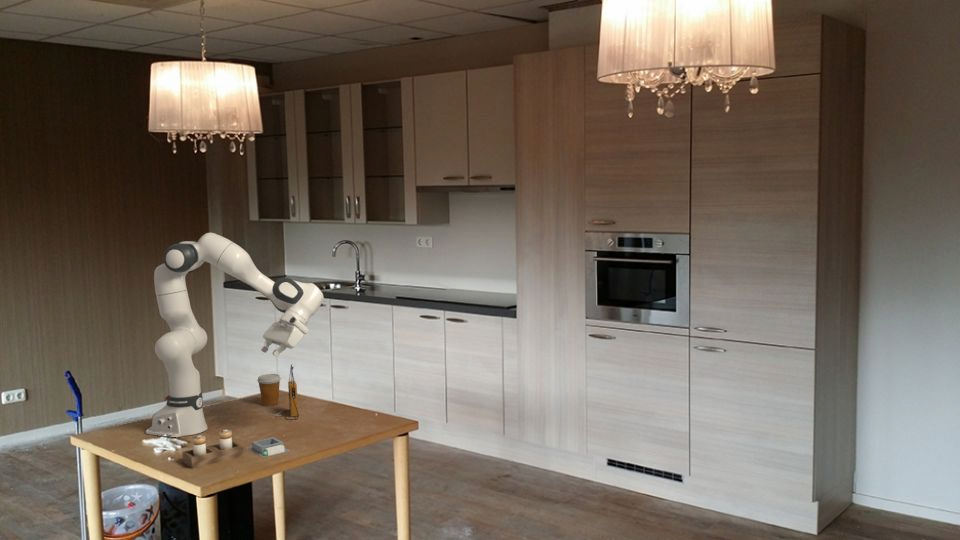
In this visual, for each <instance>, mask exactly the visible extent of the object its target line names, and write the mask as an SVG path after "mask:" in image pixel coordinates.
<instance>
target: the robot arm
mask: <svg viewBox="0 0 960 540" xmlns="http://www.w3.org/2000/svg"><path fill="white" fill-rule="evenodd" d="M206 263H209V264H211V265H212V266H213V267H216V268H217V269H218V270H220V271H222V272H224V273H226V274H228V275H230V276H232V277H234V278H236V279H237V280H239V281H241V282H243V283H245V284H247V285H248V286H249V287H251V288H253V289H254V290H256V291H257V292H258V293H260V294H262V295H263V296H265V297H266V298H267V299H269V300H270V302H271V303H272V304H273V306H274V307H275V309H276V310H277V311H279V312H280V313H282V316H281V317H280V318H279V320H278V321H275V322H273V323H272V324H271V325H270V326H269V327H268V328H267V330H265V332H264V333H263V334H262V338H263V339H264V342H263V346H262V347H261V349H260V351H262V352H263V353H265V354H266V353H267V352H268V351H269V348H270V346H271V345H272V344H273V345H277V346H279V347H277V348H276V349H274V350H273V352H272V355H273V356H274V357H278V356H279V355H280V354H281V353H283V352H284V351H285V350H287V349H291V350H292V349H293V348H295V347H296V346H297V345H298V344H299V343H300V342H301V340H302V339H303V338H304V335H306V334H308V333H309V331H310V329H308V327H307V326H306V325H308V323H309V320H310V318H311V317H313V316H314V315H315V314H316V312H317V311H318V309H320V307H321V305H322V304H323V302H324V299H325V298H324V293H323V291H322V290H321V289H320V287H318V285H316V284H315V283H314V282H301V281H297V280H296V279H295V280H294V279H292V278H290V277H281V278H279V279H277V280H276V281H274V280H272V279H271V278H269V277H268V276H266V275H265V274H263V273H262V272H261V271H260V270H259V269H258V268H257V267H256V265H255V263H254V262H253V260H252V258H251V256H250V254H249V253H248V252H247V251H246V250H245V249H244V248H242V247H241V246H240V245H238V244H237V243H235V242H234V241H232V240H230V239H228V238H226V237H224V236H222V235H219V234H217V233H215V232H207V233H206V232H205V234H203V235H202V236H201V237H199V239H198V240H197V241H195V240H189V241H188V240H186V241H184V240H183V241H180V242H178V243H174V244H172V245H170V246H168V247H167V249H166V250H165V251H164V253H163V263H162V264H159V265H158V266H157V267H155V269H154V273H153V274H154V275H153V281H154V292H155V296H156V302H157V306H158V311H159V315H160V317H161V318H162V319H163V320H164V321H165V322H166V323H167V325H168V327H169V329H170V331H169V332H166V333H165V334H163V335H162V336H161V337H160V338H158V340H157V341H156V342H155V345H154V352H155V354H156V357H157V358H158V359H159V360H160V361H162V362H163V365H164V367H165V370H166V374H167V378H168V388H169V395H167V396H166V397H164V398H163V401H164V402H165V401H166V403H165V404H166V405H164V406H163V407H162V408H161V409H160V410H158V411H157V412H156V413H155V414H154V415H153V417H152V421H151V426H150V427H149V428H147V429H146V430H145V434H146V435H151V436H157V435H158V437H162V436H161V435H163V434H168V435H171V436H174V437H176V438H180V437H184V436H192V435H197V434H200V433H202V432H205V431H207V430H208V429H209V427H208V425H207V422H206V419H205V414H204V409H203V403H204V401H203V392H202V391H201V377H200V375H201V374H200V372H199V370H198V369H197V368H196V366H195V364H194V362H193V359H192V357H193V355H195V354H198V353H199V352H200V351H202V349H203V348H205V346H206V345H207V342H208V334H207V332H206V330H205V329H204V328H202V326H200V325H199V323H198V321H197V318H196V317H195V314H194V312H193V310H192V307H191V303H190V297H189V293H188V289H187V283H186V276H187V274H189V273H192V272H194V271H197V269H200V268H202V267H203V266H204V265H205V264H206Z"/></svg>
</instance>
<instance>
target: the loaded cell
mask: <svg viewBox="0 0 960 540" xmlns="http://www.w3.org/2000/svg"><path fill="white" fill-rule="evenodd" d="M206 440H207V439H206V435H201V434H198V435H197V434H196V435H195V436H193V437H192V448H193V449H192V450H193V454H194V456H199V455H203V454H206V447H207V445H206V444H207V443H206V442H207V441H206Z"/></svg>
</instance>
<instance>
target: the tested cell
mask: <svg viewBox="0 0 960 540" xmlns="http://www.w3.org/2000/svg"><path fill="white" fill-rule="evenodd" d="M232 435H233V433H232V430H231V429H222V430H219V431H218V438H219V439H218V440H219V444H220V450H224V449H229V448H232V441H233V440H232V439H233V436H232Z"/></svg>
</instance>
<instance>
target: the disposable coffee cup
mask: <svg viewBox="0 0 960 540" xmlns="http://www.w3.org/2000/svg"><path fill="white" fill-rule="evenodd" d="M281 380H282V378H281V377H280V374H277V373H268V374H267V373H266V374H262V375H259V376H258V378H257V381H256V382H258V386H259V391H260V396H261V402H262V406H263V405H264V406H263V407H274V406H277V405H278V404H279V398H280V397H279V395H280V382H281ZM273 405H274V406H273Z"/></svg>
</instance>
